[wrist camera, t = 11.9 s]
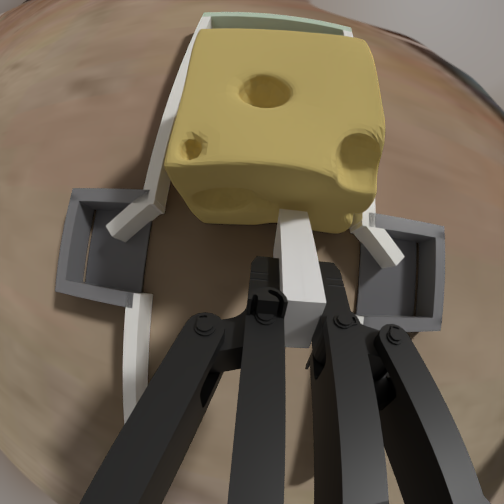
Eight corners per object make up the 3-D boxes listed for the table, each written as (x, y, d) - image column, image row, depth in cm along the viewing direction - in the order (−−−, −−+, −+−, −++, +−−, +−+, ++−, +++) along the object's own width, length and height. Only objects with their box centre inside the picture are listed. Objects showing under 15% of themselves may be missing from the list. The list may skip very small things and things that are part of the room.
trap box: (395, 57, 23) (402, 44, 21) (391, 459, 17) (402, 472, 15) (154, 32, 23) (149, 18, 21) (76, 427, 17) (62, 437, 15)
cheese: (338, 236, 20) (408, 191, 10) (192, 227, 20) (144, 171, 10) (332, 120, 21) (370, 38, 11) (208, 111, 21) (189, 21, 11)
